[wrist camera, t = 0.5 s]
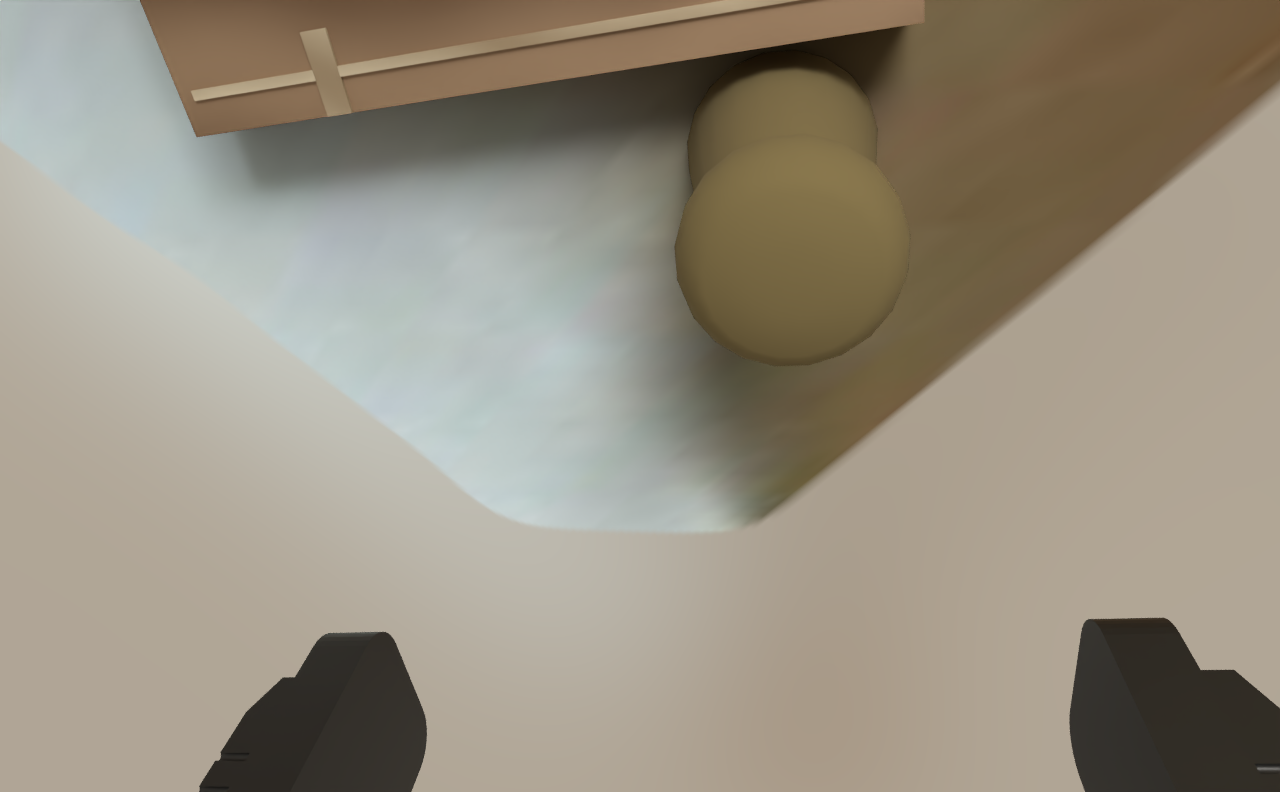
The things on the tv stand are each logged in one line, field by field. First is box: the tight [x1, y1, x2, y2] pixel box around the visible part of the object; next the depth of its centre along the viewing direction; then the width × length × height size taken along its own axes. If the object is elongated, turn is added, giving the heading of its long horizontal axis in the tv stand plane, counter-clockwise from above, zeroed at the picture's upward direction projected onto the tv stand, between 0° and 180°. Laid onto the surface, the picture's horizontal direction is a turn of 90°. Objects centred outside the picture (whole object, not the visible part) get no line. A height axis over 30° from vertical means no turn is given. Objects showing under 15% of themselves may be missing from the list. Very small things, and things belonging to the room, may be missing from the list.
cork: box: [675, 50, 911, 366], centre depth 22 cm, size 6×6×11 cm
